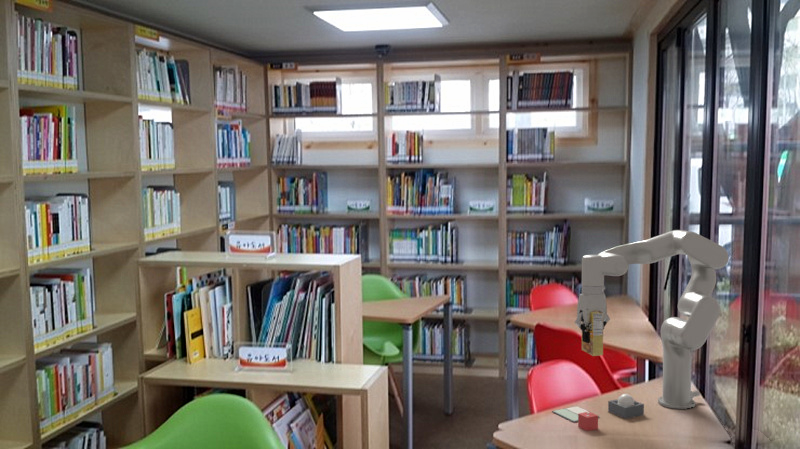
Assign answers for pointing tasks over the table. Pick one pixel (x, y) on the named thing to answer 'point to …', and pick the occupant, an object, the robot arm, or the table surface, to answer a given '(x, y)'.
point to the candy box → (595, 335)
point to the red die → (588, 421)
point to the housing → (625, 409)
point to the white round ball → (625, 400)
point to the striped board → (570, 413)
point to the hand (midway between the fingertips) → (592, 340)
